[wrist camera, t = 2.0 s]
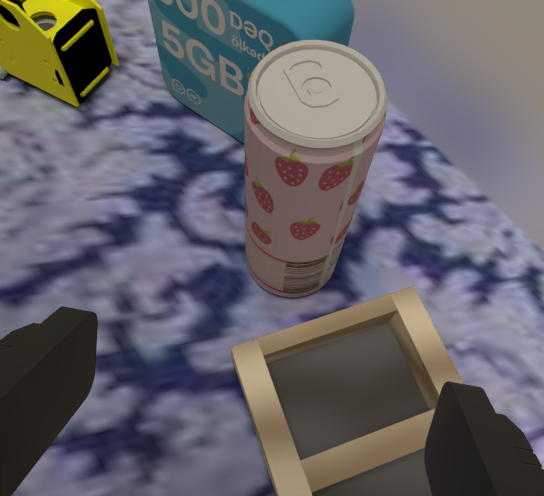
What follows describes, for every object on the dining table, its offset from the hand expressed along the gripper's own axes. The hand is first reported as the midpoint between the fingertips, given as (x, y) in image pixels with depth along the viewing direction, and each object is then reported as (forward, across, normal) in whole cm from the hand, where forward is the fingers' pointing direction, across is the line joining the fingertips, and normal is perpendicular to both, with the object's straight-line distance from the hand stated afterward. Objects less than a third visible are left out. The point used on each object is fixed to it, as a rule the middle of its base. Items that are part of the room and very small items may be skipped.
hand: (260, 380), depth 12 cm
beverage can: (+21, 0, +4) cm, 21 cm away
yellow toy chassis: (+30, +24, -5) cm, 39 cm away
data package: (+29, +5, -3) cm, 29 cm away
